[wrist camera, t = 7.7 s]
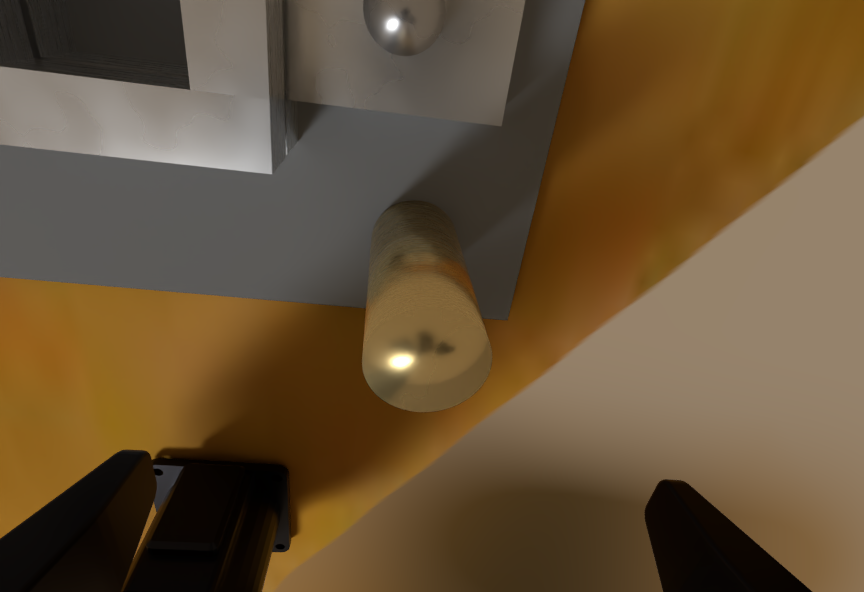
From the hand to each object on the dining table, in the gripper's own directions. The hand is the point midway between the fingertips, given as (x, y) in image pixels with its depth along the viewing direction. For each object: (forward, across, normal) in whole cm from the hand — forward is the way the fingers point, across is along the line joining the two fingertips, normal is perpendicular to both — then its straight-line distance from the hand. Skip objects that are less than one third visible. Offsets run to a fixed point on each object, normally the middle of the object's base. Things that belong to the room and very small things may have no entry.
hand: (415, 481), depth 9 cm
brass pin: (+10, 0, 0) cm, 10 cm away
